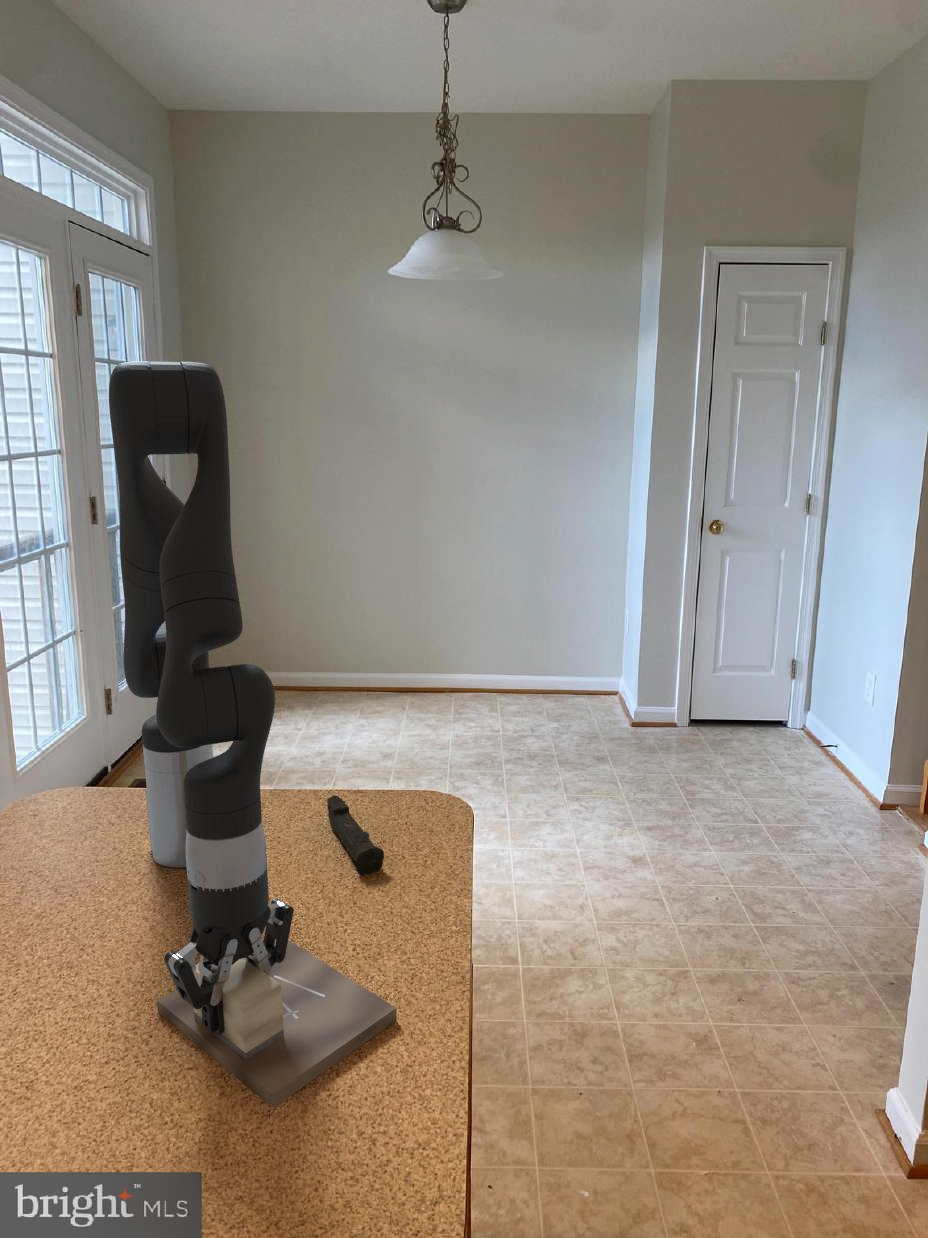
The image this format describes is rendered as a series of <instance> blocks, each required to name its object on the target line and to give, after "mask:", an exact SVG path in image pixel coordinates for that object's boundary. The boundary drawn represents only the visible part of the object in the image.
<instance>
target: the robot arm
mask: <svg viewBox="0 0 928 1238" xmlns="http://www.w3.org/2000/svg"><path fill="white" fill-rule="evenodd" d="M225 399H226V398H225V393H224V389H223V385H222V381H221V379H220V376H219V374H218V372H217V371H216V370H215V368H214V367H213V366H211V365H210V364H208V363H204V362H197V361H195V362H194V361H180V362H179V361H148V360H132V361H126V362H120V363H119V364H117V365H116V366H115V367H114V368H113V369H112V371H111V375H110V379H109V383H108V407H109V410H108V411H109V418H110V427H111V434H112V442H113V443H112V444H113V449H114V450H113V451H114V452H113V453H114V460H115V469H116V476H117V483H118V484H117V485H118V495H119V496H118V497H119V500H118V501H119V556H120V557H119V558H120V559H119V560H120V568H121V569H120V570H121V571H120V573H121V581H122V589H123V598H124V599H123V601H124V634H123V674H124V678H125V682H126V684H127V687H128V689H129V691H131V692H130V693H132V694H133V695H134V696H136V698H137V697H139V698H144V699H145V698H146V699H150V698H151V699H153V698H157V701H156V710H155V712H156V713H155V714H154V715H152V716H151V717H149V718H148V719H146V720H145V722H143V724H142V727H141V742H142V749H143V762H144V773H145V783H146V789H145V799H146V800H145V801H146V809H147V823H148V833H149V844H150V850H152V851H151V853H152V858H153V861H155V863H156V864H158V865H160V866H162V867H163V866H164V867H169V868H186V874H187V876H186V877H187V890H188V900H189V904H188V905H189V912H190V913H189V914H190V916H191V921H192V932H191V933H190V937H189V942H188V943H187V945H185V946H184V947H183V948H181V949H180V950H179V951H178V952H175V951H174V950H170V951H168V952H167V953H166V954H165V956H164V959H163V961H164V964H165V966H166V968H167V970H168V972H169V974H170V976H171V978H172V981H173V983H174V985H175V987H176V989H177V990H178V992H179V994H180V997H181V998H182V999H184V1000H186V1001H187V1002H188V1003H190V1004H191V1005H192V1007H194V1008H195V1009H200V1008H201V1011H202V1023H203V1025H204V1026H205V1027H206V1028H207V1029H208V1030H210V1031H211V1032H212V1033H213V1032H214V1033H215V1034H216V1035H220V1034H222V1033H223V1032H224V1031H225V1027H224V1013H223V1002H222V1001H221V997H222V992H223V987H224V983H225V982H226V981H228V979H229V975H230V970H231V965H233V964H234V963H235V962H237V961H238V960H239V959H243V958H245V959H246V961H247V962H250V963H251V964H253V965H254V966H255V967H257V968H258V969H259V970H261V971H263V972H264V973H266V974H267V975H269V974H270V972H271V969H272V968H271V967H272V966H273V965H274V964H275V963H276V962H277V963H281V962H282V961H283V960H284V958H285V955H286V949H287V944H288V940H289V938H290V932H291V927H292V922H293V917H294V911H295V910H294V907H293V906H291V905H290V904H288V903H285V902H284V901H282V900H281V899H279V898H273V899H272V900H271V902H270V895H269V879H268V878H269V874H268V862H267V859H268V858H267V842H266V834H265V829H264V826H263V816H262V815H263V814H262V813H263V812H262V798H261V797H262V796H261V774H262V767H263V766H262V765H263V761H264V756H265V751H266V746H267V742H268V739H269V736H270V732H271V731H270V730H271V727H272V724H273V721H274V720H273V719H274V714H275V708H276V694H275V693H276V692H275V688H274V684H273V682H272V680H271V678H270V677H269V675H268V673H267V672H266V671H265V670H263V668H262V667H260V666H258V665H255V664H253V663H249V664H248V663H242V664H233V665H227V666H226V665H224V666H216V667H215V666H214V667H210V663H209V662H210V661H209V660H210V659H209V656H210V655H209V652H210V651H212V650H216V649H219V648H221V647H225V646H227V645H229V644H232V643H234V642H235V641H236V640H237V639H239V637H240V636H241V634H242V632H243V626H244V625H243V616H242V609H241V602H240V595H239V590H238V584H237V583H238V582H237V577H236V571H235V564H234V557H233V555H234V554H233V548H232V547H233V546H232V532H231V531H232V530H231V529H232V526H231V525H232V524H231V480H230V476H231V474H230V458H229V457H230V456H229V455H230V454H229V453H230V452H229V435H228V417H227V408H226V407H227V406H226V400H225ZM191 454H193V455H194V454H196V455H197V469H196V474H195V475H196V476H195V480H194V483H193V487H192V489H191V491H190V493H189V495H188V498H187V500H186V501H185V503H184V502H182V500H181V499H180V498H179V497H178V496H177V495H176V494H175V493H174V492H173V490H171V489H170V487H168V486H167V485H166V483H165V482H164V480H162V479H161V477H160V476H159V474H158V472H157V471H156V469H155V468H154V465H153V464H152V461H151V460H150V458H149V456H153V455H156V456H157V455H158V456H159V455H191ZM164 623H165V627H163V628H161V627H162V626H163V624H164ZM229 742H231V744H230V746H229V747H228V748H227V750H226V751H223V752H222V753H220V754H218V755H216V756H214V751H213V750H214V749H213V747H214V746H213V745H216V744H222V743H229ZM269 902H270V904H269ZM264 930H265V931H264ZM263 933H264V935H263ZM262 936H264V937H263V939H262ZM275 939H276V945H275V946H274V944H275ZM198 954H200V958H199V962H198V963H199V967H198V969H199V972H200V978H199V982H197V980H196V978H195V975H194V973H193V971H195V970H196V966H195V965H196V957H197V955H198ZM217 966H218V967H217Z"/></svg>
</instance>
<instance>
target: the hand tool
mask: <svg viewBox="0 0 928 1238" xmlns="http://www.w3.org/2000/svg"><path fill="white" fill-rule="evenodd" d="M326 800H327V801H326V802H327V804H326V805H327V811H328V812H327V813H328V814H327V816H328V819H329V825H330V827H331V831H332V833H333V834H334V835H337V836H338V838H339V839H340V842H341V843H342V844H343V845H344V848H345V849H346V850H347V852H348V854H349V856H350V857H351V858H352V859H353V861H354V862H355V866H356V870H355V871H356V872H357V874H359V875H360V876H365V875H370V874H374V873H377V872H379V871H380V870H381V869H382V867H383V865H384V864H383V863H384V860H385V859H384V858H385V853H384V850H383V848H381V847H379V846H377V845H375V844H374V843H373V842H372V840H371V839H370V835H369V832H367V831H364V830H363V829H362V827H361V826H360V824H359V823H358V821H356V820H355V818H354V817H353V816H352V815H351V813H350V807H349V806H348V804H347V803H346V801H345V800H343V798H342V797H340V796H339V795H336V794H333V795H331V796H330V797H329V798H327V799H326Z"/></svg>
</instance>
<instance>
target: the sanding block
mask: <svg viewBox="0 0 928 1238" xmlns="http://www.w3.org/2000/svg"><path fill="white" fill-rule="evenodd" d="M195 966H196V970H195V971H193V973H194V975H195V978H196V980H197V982H199V978H200V972H199V969H198V967H199V962H198V963H197V964H196V963H195ZM217 967H218V966H217ZM221 1001H222V1002H223V1013H224V1027H225V1031H224V1032H223V1033H222V1034H220V1035H216V1034H215V1033H214V1032H213V1034H214V1035H216V1036H217V1037H218V1038H219V1039H221V1040H222V1041H223V1042H224V1043H226V1044H227V1045H228V1046H229V1047H231V1048H232V1049H233V1050H234V1051H236V1052H237V1053H238V1054H239V1055H241V1056H242V1057H243V1058H244V1059H246V1060H247V1059H249V1058H250V1057H252V1056H254V1055H255V1054H257V1053H258V1052H260V1051H261V1050H263V1049H264V1048H266V1047H268V1046H269V1045H271V1044H272V1043H274V1042H275V1041H277V1040H278V1039H280V1038H282V1037H283V1036H284V1030H283V1010H282V991H281V984H280V983H279V982H277V981H276V980H274V979H273V978H272V977H270V976H269V975H267V974H266V973H264V972H263V971H261V970H259V969H258V968H257V967H255V966H254V965H253V964H251V963H250V962H247V961H246V960H245V959H244V958H243V959H239V960H238V961H237V962H235V963H234V964H233V965H231V970H230V975H229V979H228V981H226V982H225V983H224V987H223V992H222V997H221ZM194 1018H195V1019H196V1020H197V1021H198V1022H199V1023H201V1024H202V1025H203V1023H202V1011H201V1008H200V1009H195V1008H194ZM203 1026H204V1025H203ZM204 1027H205V1026H204ZM209 1031H210V1030H209Z"/></svg>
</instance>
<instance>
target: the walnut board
mask: <svg viewBox="0 0 928 1238" xmlns="http://www.w3.org/2000/svg"><path fill="white" fill-rule="evenodd" d="M275 945H276V939H275V944H274V946H275ZM244 959H245V958H244ZM245 960H246V959H245ZM271 968H272V969H271V972H270V974H269V976H270V977H272V978H273V979H274V980H276V981H277V982H279V983H280V984H281V991H282V1010H283V1030H284V1036H283V1037H282V1038H280V1039H278V1040H277V1041H275V1042H274V1043H272V1044H271V1045H269V1046H268V1047H266V1048H264V1049H263V1050H261V1051H260V1052H258V1053H257V1054H255V1055H254V1056H252V1057H250V1058H249V1059H247V1060H246V1059H244V1058H243V1057H242V1056H241V1055H239V1054H238V1053H237V1052H236V1051H234V1050H233V1049H232V1048H231V1047H229V1046H228V1045H227V1044H226V1043H224V1042H223V1041H222V1040H221V1039H219V1038H218V1037H217V1036H216V1035H214V1034H213V1033H212V1032H211V1031H209V1030H208V1029H207V1028H206V1027H204V1026H203V1025H202V1024H201V1023H199V1022H198V1021H197V1020H196V1019H195V1018H194V1007H192V1005H191V1004H190V1003H188V1002H187V1001H186V1000H184V999H182V998H181V997H180V994H179V992H178V990H177V988H176V989H175V990H173V991H171V992H169V993H167V994H165V995H164V996H161V997H160V998H158V999H156V1006H157V1013H159V1015H161V1016H162V1017H163V1018H164V1019H166V1020H167V1021H168V1022H169V1023H170V1024H172V1025H173V1026H174V1027H175V1028H177V1030H179V1031H180V1032H181V1033H182V1034H184V1035H185V1036H186V1037H187V1039H190V1040H191V1041H192V1042H193V1043H194V1044H195V1045H197V1046H198V1047H199V1048H200V1049H201V1050H203V1051H204V1052H205V1053H206V1054H207V1055H209V1056H210V1057H211V1058H212V1059H213V1060H215V1061H216V1062H217V1063H218V1064H219V1065H221V1067H223V1068H224V1069H225V1070H227V1072H229V1073H230V1074H231V1075H233V1076H234V1077H235V1078H236V1079H238V1080H239V1081H240V1082H241V1083H242V1084H243V1085H244V1086H246V1088H248V1089H250V1091H252V1092H253V1093H254V1094H256V1095H257V1097H259V1098H260V1099H261V1100H262V1101H264V1102H265V1103H266V1104H268V1105H269V1106H270V1107H271V1108H273V1109H274V1108H275V1107H277V1106H278V1105H280V1104H281V1103H283V1102H284V1101H286V1100H287V1099H288V1098H290V1097H291V1096H292V1095H294V1094H296V1092H298V1091H299V1090H301V1089H302V1088H303V1087H305V1086H307V1085H308V1084H309V1083H311V1082H312V1081H313V1080H315V1079H317V1078H318V1077H319V1076H321V1075H322V1074H323V1073H324V1072H326V1071H327V1070H328V1069H330V1068H332V1067H333V1066H334V1065H336V1064H337V1063H339V1062H340V1061H342V1060H343V1059H345V1057H347V1056H349V1055H350V1054H351V1053H352V1052H354V1051H356V1050H357V1049H359V1048H360V1047H361V1046H362V1045H364V1044H366V1043H367V1042H369V1040H371V1039H372V1038H373V1037H375V1036H377V1035H378V1034H379V1033H381V1032H383V1030H384V1029H386V1028H388V1027H389V1026H390V1025H392V1024H393V1023H395V1022H396V1021H397V1017H398V1016H397V1007H395V1006H394V1005H392V1004H391V1003H389V1002H388V1001H386V1000H385V999H383V998H381V997H380V996H378V995H376V994H375V993H374V992H372V991H370V990H369V989H367V988H366V987H363V986H362V985H360V984H359V983H358V982H356V981H354V980H352V979H351V978H349V977H348V976H347V975H344V974H343V973H342V972H340V971H338V970H336V969H335V968H334V967H332V966H330V965H328V964H327V963H326V962H324V961H322V960H321V959H319V958H318V957H317V956H315V955H312V954H311V953H309V952H308V951H306V950H305V949H303V948H301V947H300V946H299V945H297V944H296V943H294V942H292V941H290V940H289V939H288V944H287V949H286V955H285V958H284V960H283V961H282V962H281V963H277V962H276V963H275V964H274V965H273V966H272V967H271Z"/></svg>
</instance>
